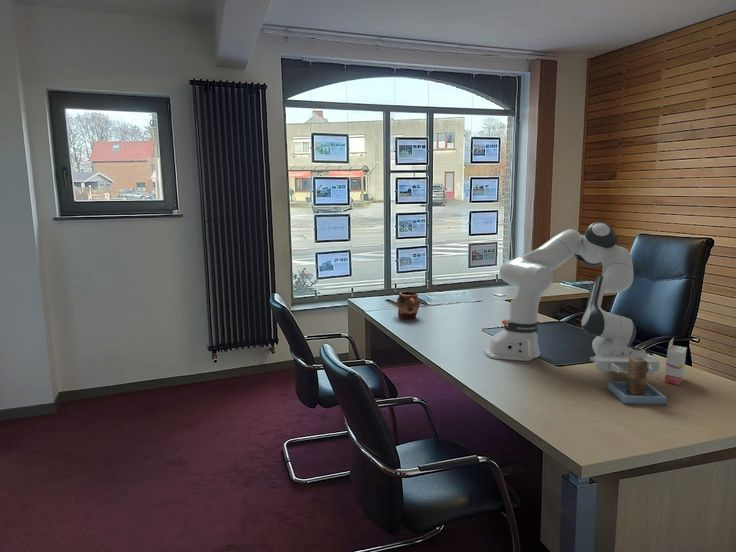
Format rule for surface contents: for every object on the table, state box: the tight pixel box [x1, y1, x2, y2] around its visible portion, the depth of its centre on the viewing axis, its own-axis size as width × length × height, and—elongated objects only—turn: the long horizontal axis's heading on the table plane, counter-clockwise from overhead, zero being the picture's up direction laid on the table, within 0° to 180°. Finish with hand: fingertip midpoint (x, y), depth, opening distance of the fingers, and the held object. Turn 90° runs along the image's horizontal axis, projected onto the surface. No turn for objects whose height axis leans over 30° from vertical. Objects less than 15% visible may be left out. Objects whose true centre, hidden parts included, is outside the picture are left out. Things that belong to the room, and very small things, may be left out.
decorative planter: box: [396, 290, 421, 320], centre depth 269 cm, size 20×12×14 cm, turn 18°
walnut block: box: [626, 358, 648, 396], centre depth 163 cm, size 4×4×12 cm
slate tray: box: [606, 381, 668, 406], centre depth 164 cm, size 13×13×2 cm
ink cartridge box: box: [664, 337, 688, 386], centre depth 176 cm, size 9×5×15 cm, turn 141°
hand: (635, 371), depth 163 cm, fingers open, 8 cm apart
